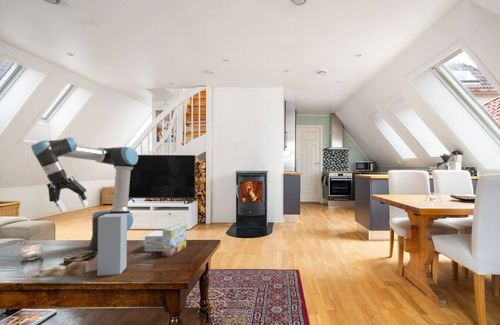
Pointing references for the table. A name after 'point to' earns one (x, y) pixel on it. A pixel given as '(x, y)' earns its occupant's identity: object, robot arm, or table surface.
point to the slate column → (112, 244)
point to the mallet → (66, 270)
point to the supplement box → (154, 241)
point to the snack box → (173, 239)
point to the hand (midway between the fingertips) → (75, 208)
